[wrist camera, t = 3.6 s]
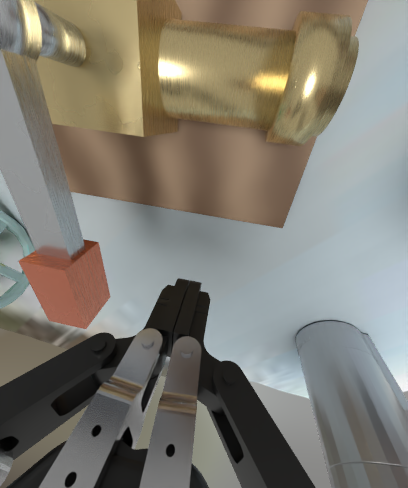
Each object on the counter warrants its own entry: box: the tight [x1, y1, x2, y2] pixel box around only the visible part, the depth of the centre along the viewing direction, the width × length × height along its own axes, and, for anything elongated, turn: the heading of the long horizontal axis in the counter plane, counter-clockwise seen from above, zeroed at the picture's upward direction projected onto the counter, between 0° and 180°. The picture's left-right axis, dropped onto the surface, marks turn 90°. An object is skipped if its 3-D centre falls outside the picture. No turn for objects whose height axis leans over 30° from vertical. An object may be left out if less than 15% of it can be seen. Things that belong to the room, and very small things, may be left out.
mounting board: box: [52, 0, 368, 228], centre depth 16 cm, size 30×22×2 cm
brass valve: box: [34, 0, 359, 146], centre depth 12 cm, size 28×7×11 cm, turn 83°
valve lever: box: [0, 0, 110, 329], centre depth 10 cm, size 3×16×3 cm, turn 173°
